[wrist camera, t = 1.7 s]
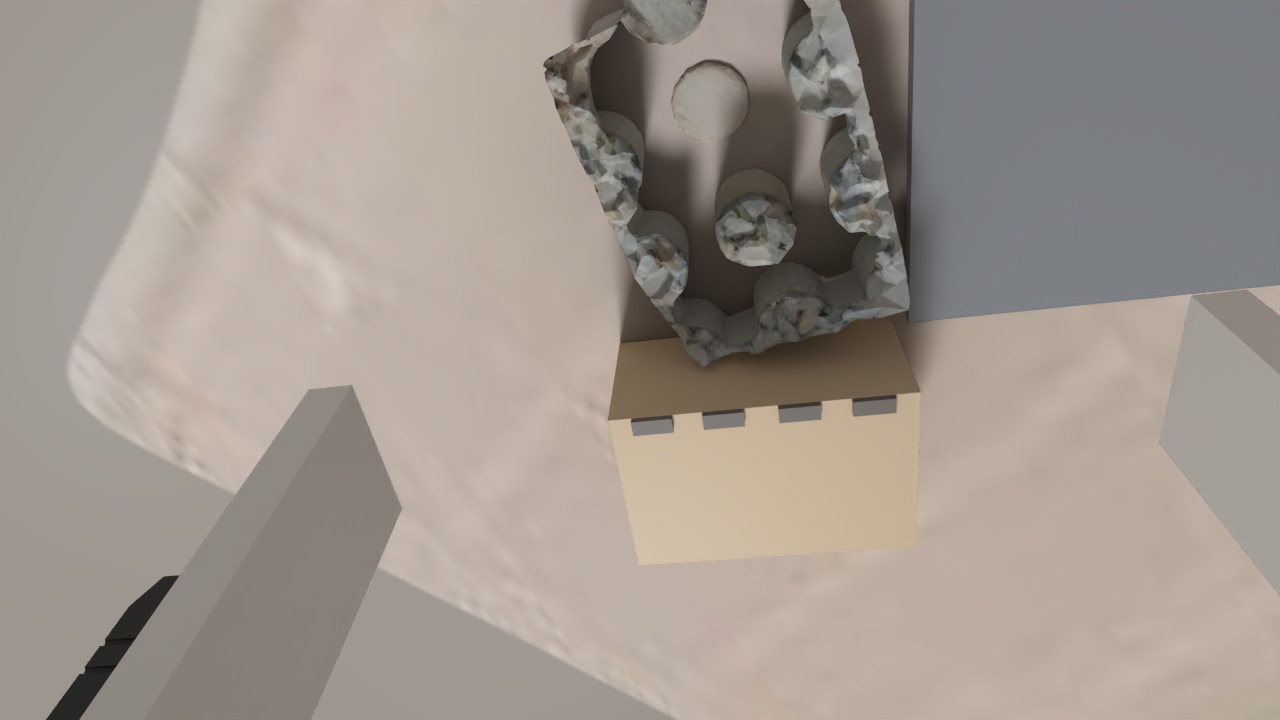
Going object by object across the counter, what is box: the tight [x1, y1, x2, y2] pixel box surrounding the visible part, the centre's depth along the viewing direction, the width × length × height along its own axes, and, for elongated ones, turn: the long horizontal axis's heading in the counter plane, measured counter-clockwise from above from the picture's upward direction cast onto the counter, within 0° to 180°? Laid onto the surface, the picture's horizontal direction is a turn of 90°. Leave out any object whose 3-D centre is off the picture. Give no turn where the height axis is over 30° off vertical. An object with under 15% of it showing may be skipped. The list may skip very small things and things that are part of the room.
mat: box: [905, 0, 1280, 323], centre depth 22 cm, size 11×14×1 cm
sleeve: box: [608, 316, 921, 565], centre depth 27 cm, size 9×6×5 cm, turn 99°
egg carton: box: [543, 0, 910, 367], centre depth 23 cm, size 11×8×4 cm
